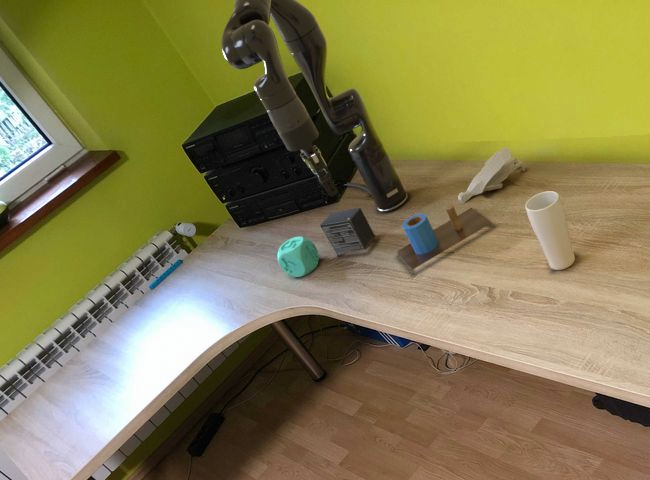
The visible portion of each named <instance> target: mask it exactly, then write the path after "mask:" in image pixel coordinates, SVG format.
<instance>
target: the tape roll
mask: <svg viewBox="0 0 650 480" xmlns="http://www.w3.org/2000/svg"><path fill="white" fill-rule="evenodd" d="M402 229H403V232H404V234H405V235H406V237H407V239H408V241H409V244H411V245H412V247H413V249H414V251H415V252H416V253H417V254H420V255H423V254H426V253H429V252H431V251H432V250H434V249H435V248H436V247H437V246H438V240H437V238H436V235H435V233H434V231H433V230H434V228H433V226H432V225H431V223H430V221H429V218H428V217H427V215H426V214H425V213H416V214H414V215H412V216H410V217H409V218H407V219H406V220H405V221H404V222H403V223H402Z"/></svg>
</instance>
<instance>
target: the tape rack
mask: <svg viewBox="0 0 650 480" xmlns="http://www.w3.org/2000/svg"><path fill="white" fill-rule="evenodd" d="M445 212H446V214H447V216H448V218H449V220H448V221H446V222H445V223H443V224H441V225H439V226H438V227H436V228H433V231H434V233H435V235H436V238H437V240H438V246H437V247H436V248H435V249H434V250H432V251H431V252H429V253H426V254H423V255H420V254H417V253H416V252H415V251H414V249H413V247H412V245H411V243H408V244H407V245H405V246H404V247H402V248H400V249H399V250H397V251H396V254H397V255H398V256H399V257H400V259H402V261H404V263H405V264H406V265H407V267H409V268H410V270H411V271H413V270H415V269H416V268H418V267H420V266H422V265H423V264H425V263H426V262H428V261H430V260H431V259H433V258H435V257H437V256H438V255H439V254H442V253H443V252H445V251H447V250H449V249H450V248H452V247H454V246H455V245H457V244H458V243H460V242H462V241H463V240H465V239H467V238H469V237H471V236H472V235H473V234H475V233H477V232H479V231H481V230H482V229H484V228H486V227H487V226H489V225H491V224H492V222H491V221H490V220H488V219H487V218H486V217H484V215H482V214H481V213H479V212H478V211H476V209H474V208H472V207H470V208H469V209H467V210H465V211H463V212H461V213H460V214H457V211H456V209H455V206H454V205H453V204H450V205H448V206H446V207H445Z"/></svg>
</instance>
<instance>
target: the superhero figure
mask: <svg viewBox="0 0 650 480" xmlns="http://www.w3.org/2000/svg"><path fill="white" fill-rule="evenodd" d="M512 165H513V166H512ZM519 168H521V170H522V171H523V172H526V167H525V164H524V163H523V161H519V162H518V159H517V157H514V158H513V156H512V154H511V150H510V148H509V147H503V148H501V149H498V150H497V151H496V152H495V153H493V155H492V156H490V157H489V158H488V159H487V160H486V161H485V163H484V164H483V167H482V169H481V170H480V171H479V172H478V173H476V175H475V176H474V177H473V178H472V180H471V181H470V184H469V185H468V187H467V189H466V191H463V192H460V193H458V198H457V199H458V201H459V202H460V203H461V204H465V203H467V202H468V201H469V200H470V199H471V198H472V197H476V196H477V195H480V194H482V193H484V192H490V191H494V190H497V189H503V183H502V182H504V180H506V179H508V177H509V175H510V174H511V173H514V172H515V171H516V170H517V169H519Z"/></svg>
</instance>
